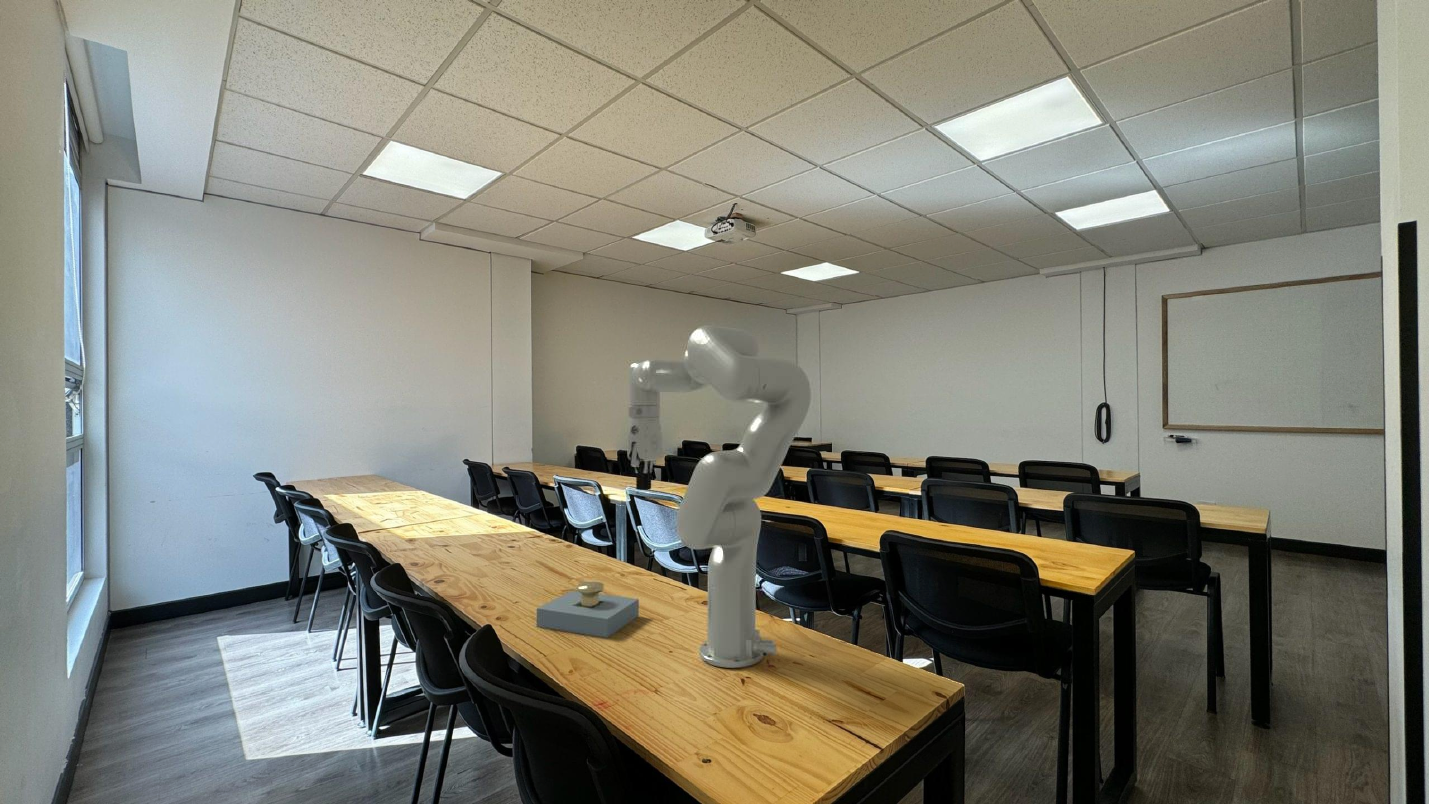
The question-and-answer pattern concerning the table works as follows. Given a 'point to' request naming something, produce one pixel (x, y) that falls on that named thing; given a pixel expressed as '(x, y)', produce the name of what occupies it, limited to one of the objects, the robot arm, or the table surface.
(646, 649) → the table surface
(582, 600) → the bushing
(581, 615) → the jig
